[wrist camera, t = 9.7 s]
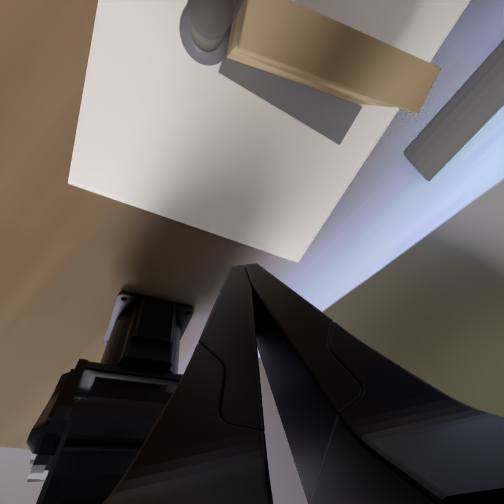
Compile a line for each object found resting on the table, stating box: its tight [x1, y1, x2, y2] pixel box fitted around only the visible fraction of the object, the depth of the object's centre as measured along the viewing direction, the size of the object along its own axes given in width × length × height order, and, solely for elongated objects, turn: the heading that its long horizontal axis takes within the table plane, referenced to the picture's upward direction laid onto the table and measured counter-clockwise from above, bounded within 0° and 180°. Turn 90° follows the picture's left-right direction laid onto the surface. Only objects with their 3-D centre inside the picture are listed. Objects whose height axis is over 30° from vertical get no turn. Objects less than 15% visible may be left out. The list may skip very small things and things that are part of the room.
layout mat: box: [68, 0, 471, 263], centre depth 16 cm, size 20×18×1 cm
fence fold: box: [226, 0, 441, 113], centre depth 13 cm, size 9×2×6 cm, turn 75°
